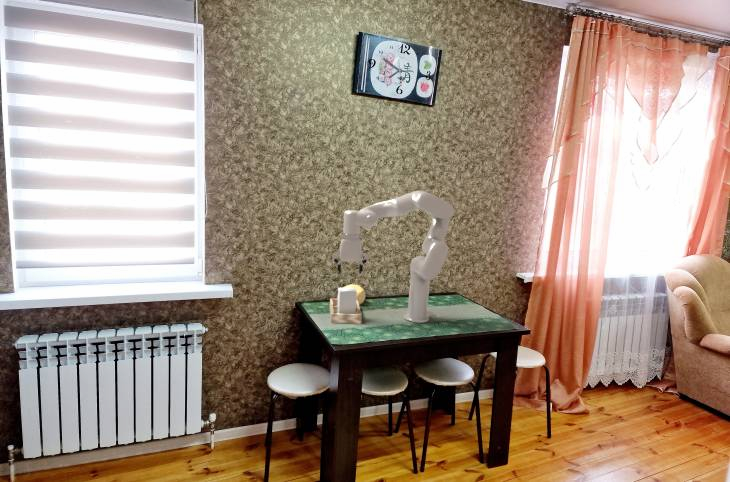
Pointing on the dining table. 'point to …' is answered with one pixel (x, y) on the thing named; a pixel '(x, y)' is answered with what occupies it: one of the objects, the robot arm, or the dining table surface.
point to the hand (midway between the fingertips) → (349, 272)
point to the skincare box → (346, 300)
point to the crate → (344, 317)
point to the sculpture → (358, 293)
